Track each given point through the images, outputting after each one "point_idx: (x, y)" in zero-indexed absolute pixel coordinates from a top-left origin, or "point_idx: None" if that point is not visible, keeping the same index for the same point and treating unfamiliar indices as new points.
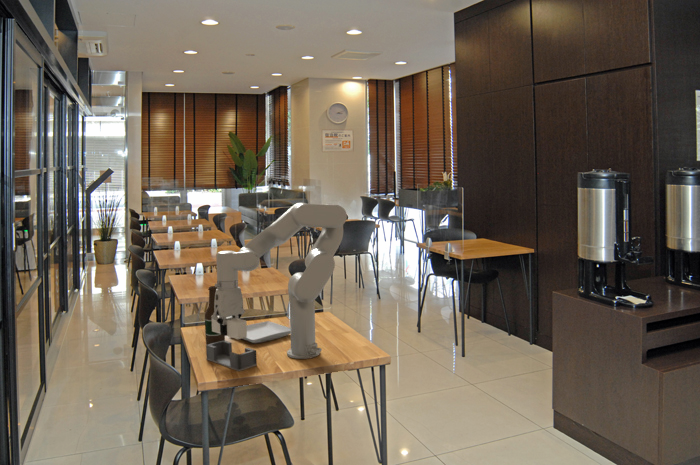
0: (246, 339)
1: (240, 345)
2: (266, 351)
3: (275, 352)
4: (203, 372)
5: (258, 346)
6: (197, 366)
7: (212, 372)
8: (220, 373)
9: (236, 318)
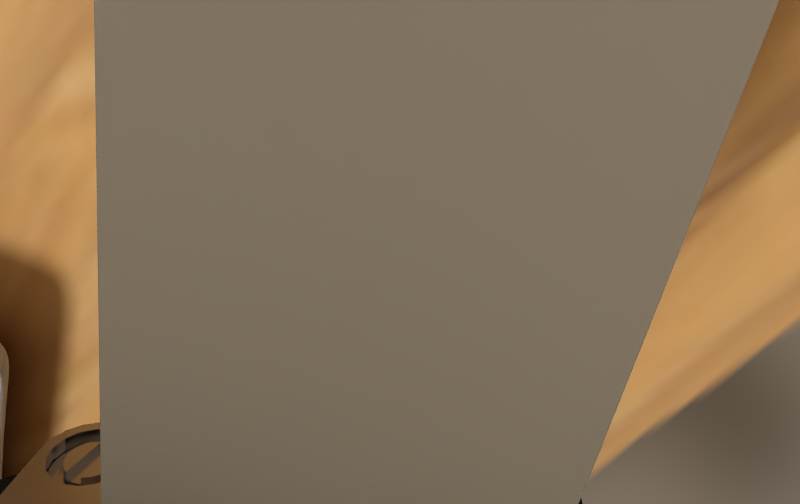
0: (3, 433)
1: (92, 422)
2: (46, 131)
3: (8, 29)
4: (784, 277)
5: (14, 283)
6: (655, 421)
7: (754, 199)
8: (755, 102)
9: (140, 485)
